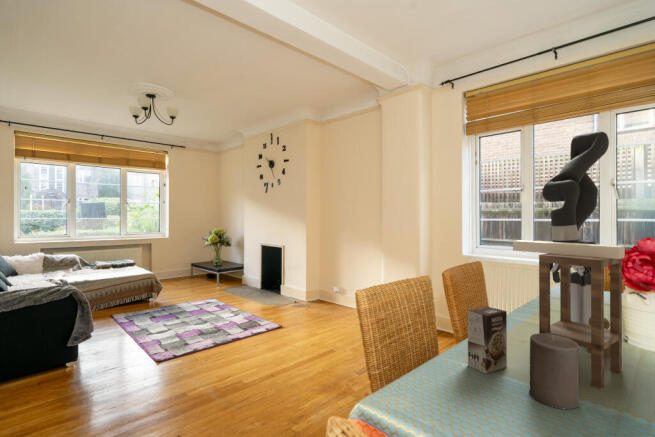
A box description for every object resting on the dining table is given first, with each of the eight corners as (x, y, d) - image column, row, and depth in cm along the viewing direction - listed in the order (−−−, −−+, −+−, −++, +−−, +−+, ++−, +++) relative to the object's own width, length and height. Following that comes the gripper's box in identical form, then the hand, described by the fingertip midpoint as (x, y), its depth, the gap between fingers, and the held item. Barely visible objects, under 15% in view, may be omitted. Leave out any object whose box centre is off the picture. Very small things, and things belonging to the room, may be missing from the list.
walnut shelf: (563, 353, 103) (562, 250, 102) (621, 371, 91) (621, 255, 91) (539, 367, 94) (539, 254, 93) (601, 388, 82) (600, 260, 82)
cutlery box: (519, 249, 107) (519, 240, 107) (624, 257, 86) (624, 245, 86) (512, 250, 105) (512, 241, 105) (618, 259, 83) (618, 247, 83)
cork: (616, 357, 100) (616, 320, 100) (593, 355, 101) (593, 319, 101) (603, 349, 106) (603, 314, 106) (582, 347, 107) (582, 314, 107)
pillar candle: (520, 392, 81) (520, 331, 81) (546, 383, 85) (546, 325, 84) (561, 414, 72) (562, 346, 72) (588, 403, 76) (589, 339, 76)
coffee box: (486, 374, 90) (486, 315, 90) (466, 365, 96) (466, 309, 95) (508, 367, 94) (507, 310, 94) (487, 358, 100) (487, 305, 100)
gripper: (594, 237, 110) (599, 285, 110) (551, 236, 123) (555, 279, 124) (580, 240, 107) (586, 289, 108) (538, 239, 121) (542, 283, 121)
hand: (569, 284), depth 116 cm, fingers open, 8 cm apart
